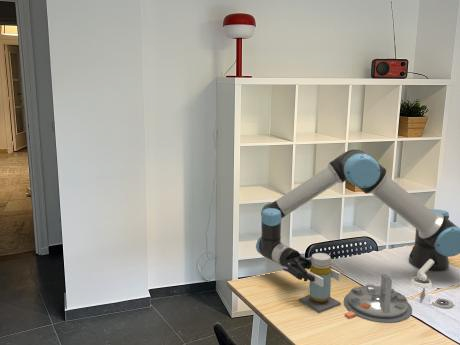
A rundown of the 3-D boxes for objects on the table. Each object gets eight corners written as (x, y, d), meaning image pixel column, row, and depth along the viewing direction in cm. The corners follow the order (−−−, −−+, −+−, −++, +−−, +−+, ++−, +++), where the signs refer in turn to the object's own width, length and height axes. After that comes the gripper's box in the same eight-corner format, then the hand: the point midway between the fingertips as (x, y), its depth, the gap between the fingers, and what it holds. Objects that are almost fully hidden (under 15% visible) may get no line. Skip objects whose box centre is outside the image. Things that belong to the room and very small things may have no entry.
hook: (450, 273, 163) (440, 266, 160) (428, 297, 165) (417, 291, 162) (436, 262, 170) (426, 254, 166) (415, 285, 172) (405, 278, 168)
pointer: (351, 313, 146) (351, 310, 145) (355, 316, 144) (355, 313, 144) (344, 316, 144) (344, 313, 144) (349, 319, 142) (349, 316, 142)
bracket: (451, 311, 147) (452, 302, 147) (419, 303, 153) (420, 294, 152) (454, 303, 153) (455, 294, 152) (423, 296, 158) (423, 287, 157)
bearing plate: (373, 285, 166) (373, 284, 166) (426, 310, 147) (426, 309, 147) (330, 300, 154) (330, 299, 154) (382, 330, 136) (382, 329, 136)
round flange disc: (342, 290, 160) (344, 256, 158) (395, 291, 160) (398, 256, 157) (356, 318, 142) (358, 280, 139) (416, 318, 141) (419, 280, 139)
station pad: (320, 293, 160) (320, 291, 160) (340, 304, 151) (340, 302, 151) (298, 300, 154) (298, 298, 154) (318, 313, 146) (319, 310, 146)
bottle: (316, 290, 157) (318, 250, 154) (334, 297, 153) (335, 256, 149) (305, 297, 153) (306, 256, 150) (322, 304, 148) (324, 262, 145)
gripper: (306, 260, 172) (351, 283, 153) (265, 272, 161) (308, 298, 142) (307, 242, 170) (353, 262, 151) (265, 253, 160) (308, 276, 141)
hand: (331, 279), depth 147 cm, fingers closed on bottle, 7 cm apart
